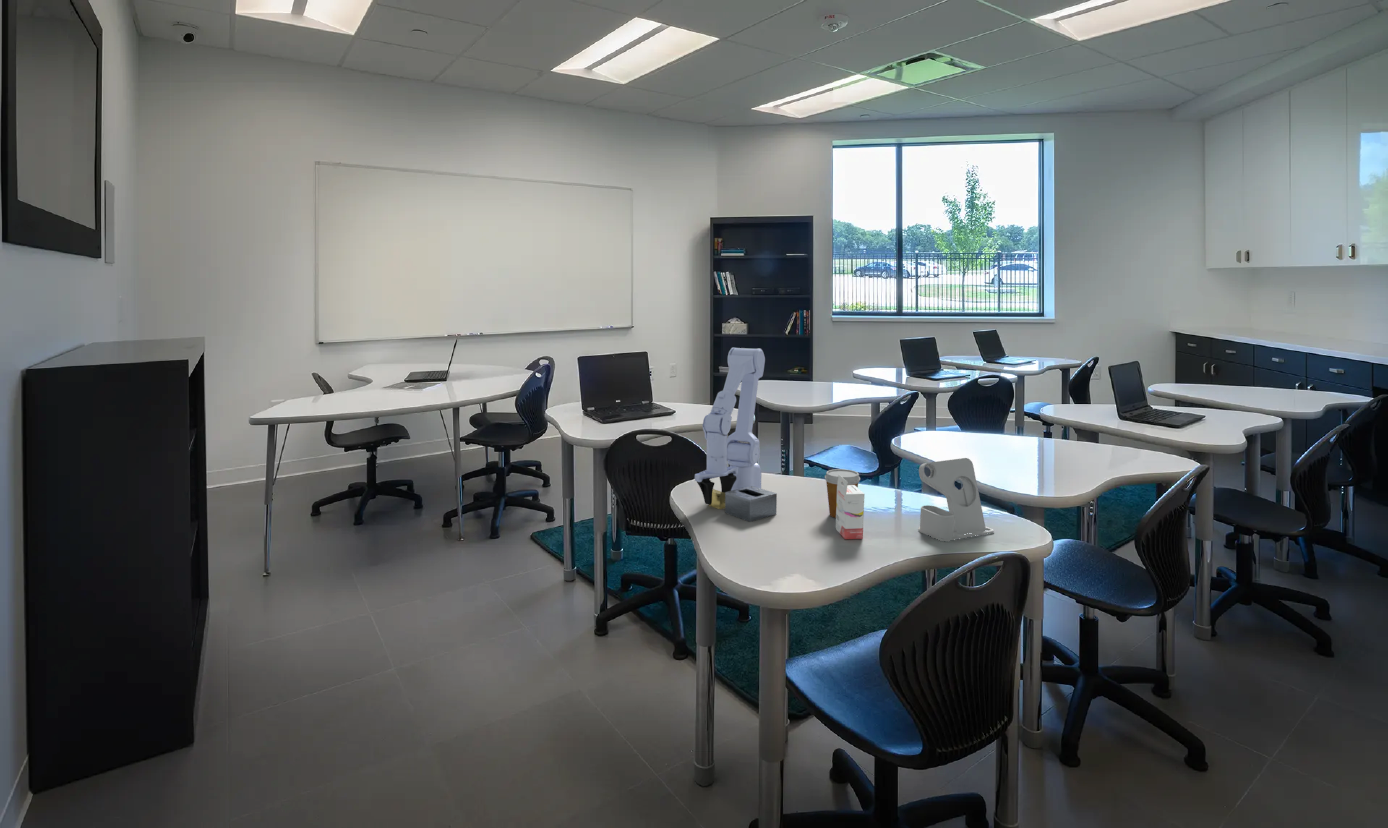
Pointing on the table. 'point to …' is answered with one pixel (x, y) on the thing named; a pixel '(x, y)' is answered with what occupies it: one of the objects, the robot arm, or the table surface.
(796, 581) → the table surface
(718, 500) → the block
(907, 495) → the table surface
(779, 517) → the table surface
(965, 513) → the grey mounting bracket
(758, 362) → the robot arm
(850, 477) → the disposable coffee cup
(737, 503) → the box
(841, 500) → the ink cartridge box
